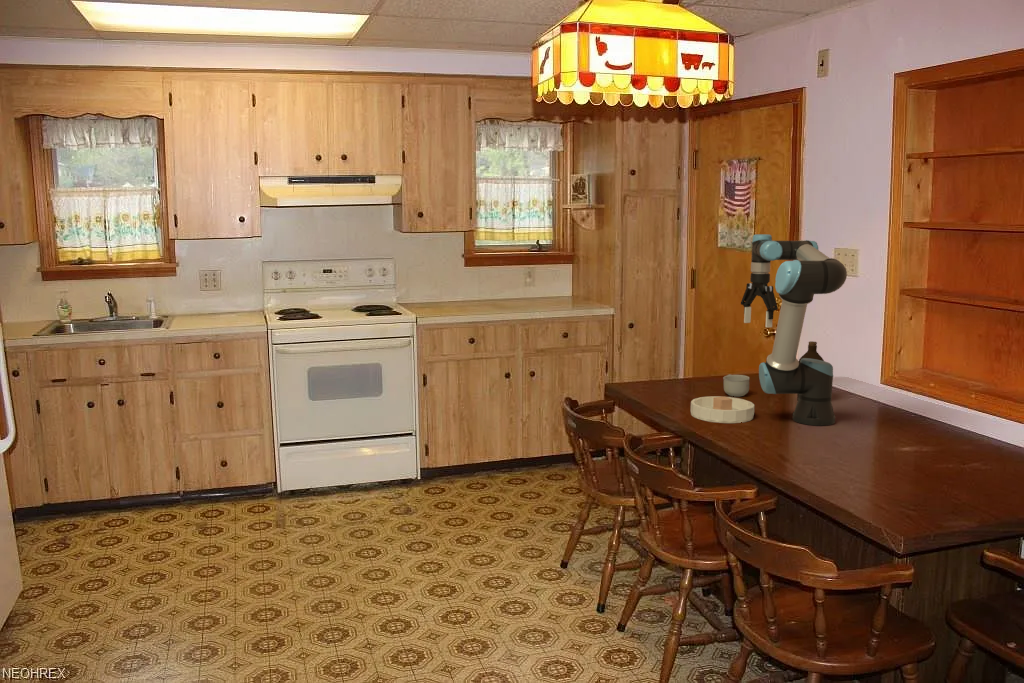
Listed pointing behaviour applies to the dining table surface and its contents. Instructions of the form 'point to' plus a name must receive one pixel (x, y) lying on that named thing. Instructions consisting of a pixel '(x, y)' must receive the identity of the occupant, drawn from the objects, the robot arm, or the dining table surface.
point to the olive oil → (811, 354)
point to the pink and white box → (722, 403)
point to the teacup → (736, 385)
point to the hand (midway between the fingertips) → (757, 325)
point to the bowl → (738, 414)
